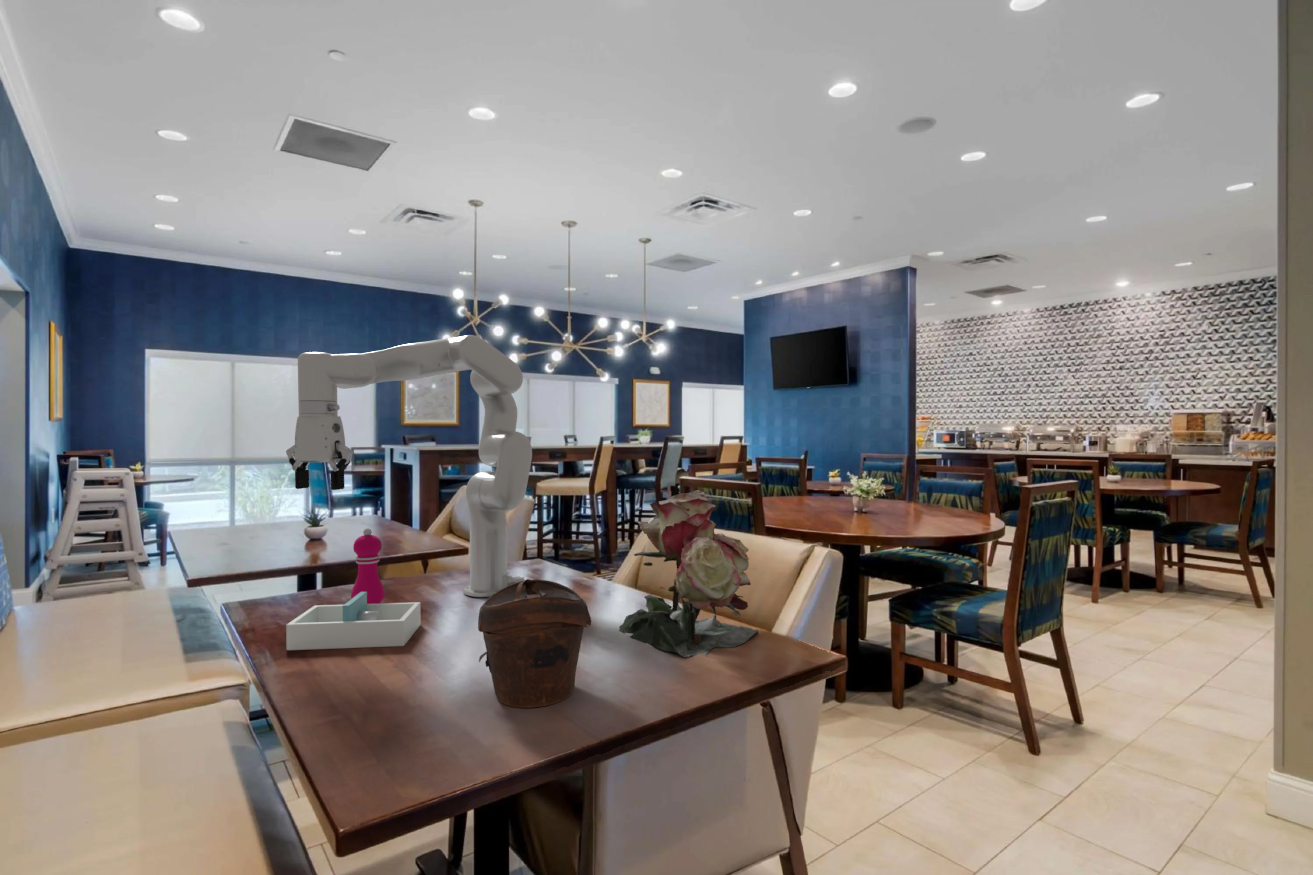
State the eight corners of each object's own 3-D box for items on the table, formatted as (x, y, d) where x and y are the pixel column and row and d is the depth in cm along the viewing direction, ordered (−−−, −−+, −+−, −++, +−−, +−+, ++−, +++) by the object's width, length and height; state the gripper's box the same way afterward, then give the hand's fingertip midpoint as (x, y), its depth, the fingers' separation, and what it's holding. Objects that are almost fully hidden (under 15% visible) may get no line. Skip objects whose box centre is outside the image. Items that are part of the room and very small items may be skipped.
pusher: (384, 622, 143) (384, 591, 143) (368, 638, 132) (367, 604, 132) (361, 623, 143) (360, 591, 143) (342, 639, 132) (342, 605, 132)
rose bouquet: (699, 667, 120) (699, 501, 120) (605, 629, 143) (605, 489, 142) (790, 638, 137) (790, 492, 136) (693, 608, 159) (693, 483, 159)
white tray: (420, 624, 146) (420, 602, 146) (403, 645, 132) (403, 620, 132) (314, 628, 143) (314, 605, 143) (286, 650, 129) (286, 624, 129)
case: (536, 661, 123) (534, 565, 122) (615, 689, 110) (614, 582, 109) (451, 693, 109) (449, 584, 108) (531, 729, 96) (529, 606, 96)
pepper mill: (361, 620, 149) (360, 531, 149) (344, 615, 153) (344, 528, 153) (391, 613, 155) (390, 527, 154) (374, 608, 159) (373, 524, 159)
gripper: (363, 409, 145) (364, 488, 145) (301, 410, 150) (302, 486, 151) (336, 409, 138) (338, 491, 138) (272, 410, 143) (274, 489, 143)
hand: (319, 488), depth 144 cm, fingers open, 9 cm apart
